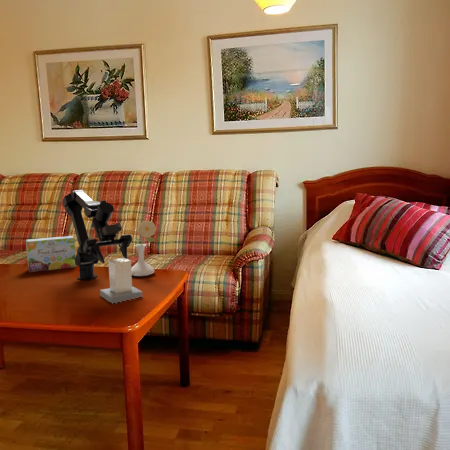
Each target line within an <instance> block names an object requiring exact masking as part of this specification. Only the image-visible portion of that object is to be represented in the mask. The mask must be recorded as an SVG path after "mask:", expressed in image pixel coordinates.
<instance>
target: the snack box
mask: <svg viewBox="0 0 450 450" xmlns="http://www.w3.org/2000/svg"><path fill="white" fill-rule="evenodd" d="M75 242H76V241H75V237H74V236H73V235H67V236H66V235H65V236H56V237H54V236H53V237H42V238H40V237H39V238H33V239H32V238H31V239H25V245H26V257H27V269H28V272H29V273H35V272H42V271H43V272H44V271H45V272H46V271H54V270H61V269H63V270H64V269H73V268H77V265H75V258H76V243H75Z"/></svg>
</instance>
